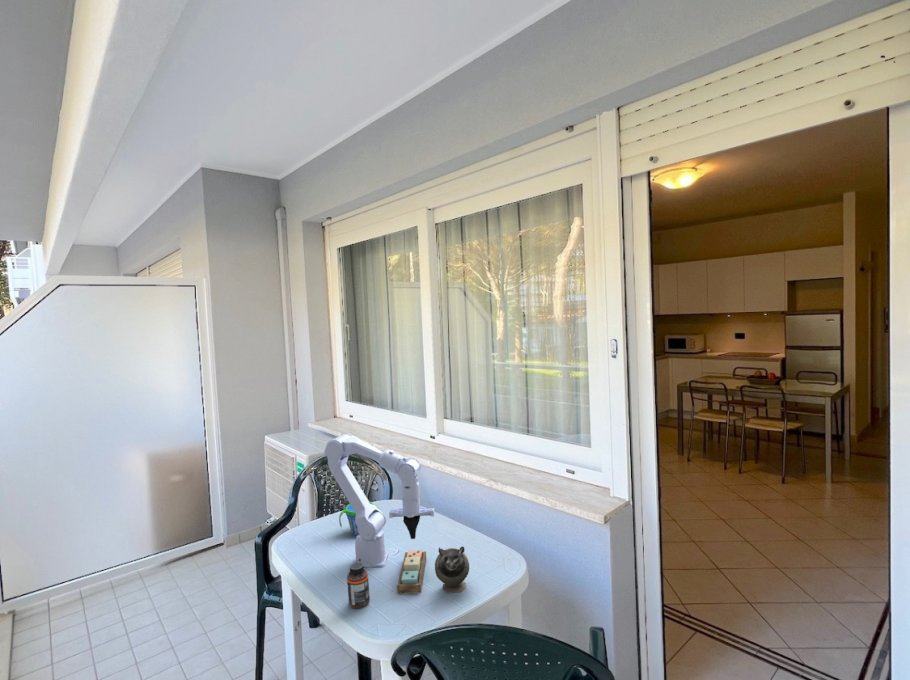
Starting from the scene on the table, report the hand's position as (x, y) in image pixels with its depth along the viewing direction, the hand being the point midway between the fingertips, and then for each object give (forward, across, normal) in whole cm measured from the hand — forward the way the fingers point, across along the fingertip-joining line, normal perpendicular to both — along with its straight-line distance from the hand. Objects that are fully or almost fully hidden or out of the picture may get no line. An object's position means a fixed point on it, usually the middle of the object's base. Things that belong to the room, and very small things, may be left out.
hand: (413, 537), depth 155 cm
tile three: (+9, 0, 0) cm, 9 cm away
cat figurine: (+9, +13, -14) cm, 21 cm away
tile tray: (+9, 0, -6) cm, 11 cm away
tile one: (+8, 0, -6) cm, 10 cm away
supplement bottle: (+9, -14, -20) cm, 26 cm away
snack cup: (+9, -23, +25) cm, 36 cm away
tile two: (+9, 0, -12) cm, 15 cm away
